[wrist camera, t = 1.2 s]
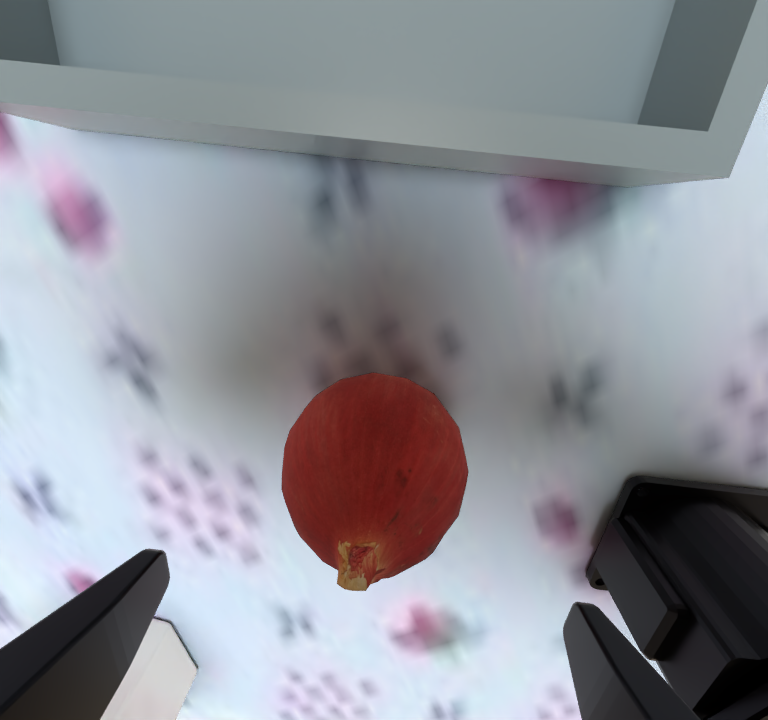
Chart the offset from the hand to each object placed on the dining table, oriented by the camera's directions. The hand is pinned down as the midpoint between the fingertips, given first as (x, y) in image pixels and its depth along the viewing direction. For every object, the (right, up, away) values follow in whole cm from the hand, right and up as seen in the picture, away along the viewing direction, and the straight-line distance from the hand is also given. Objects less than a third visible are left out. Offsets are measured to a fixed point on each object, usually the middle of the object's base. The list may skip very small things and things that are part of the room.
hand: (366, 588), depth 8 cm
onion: (0, +3, +7) cm, 8 cm away
